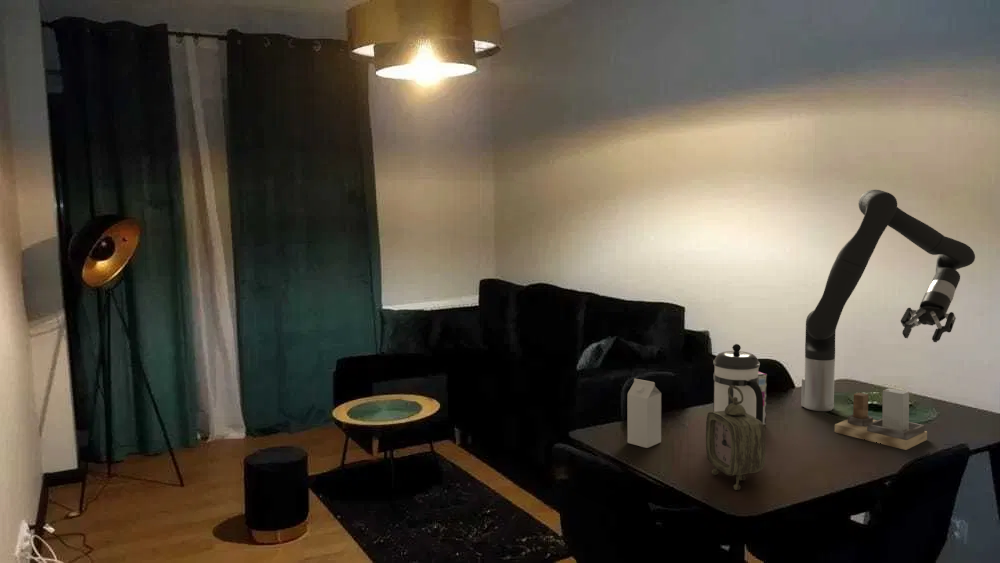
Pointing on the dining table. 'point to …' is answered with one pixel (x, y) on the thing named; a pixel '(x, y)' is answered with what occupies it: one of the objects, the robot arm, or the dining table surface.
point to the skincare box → (895, 409)
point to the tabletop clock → (735, 441)
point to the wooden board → (878, 427)
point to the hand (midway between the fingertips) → (919, 338)
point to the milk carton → (644, 414)
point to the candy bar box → (763, 392)
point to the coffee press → (738, 381)
